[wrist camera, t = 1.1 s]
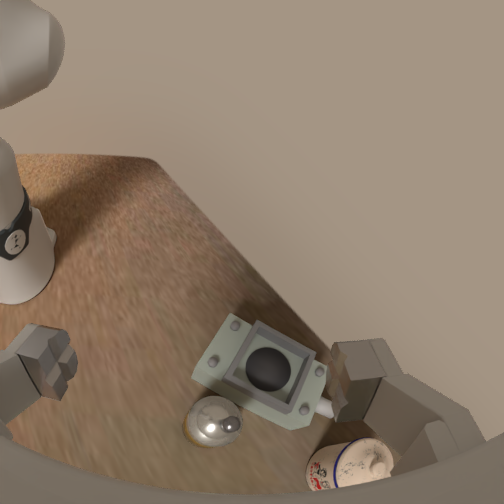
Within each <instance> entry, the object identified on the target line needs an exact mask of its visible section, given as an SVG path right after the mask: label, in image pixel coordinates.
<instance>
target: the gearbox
mask: <svg viewBox="0 0 504 504" xmlns="http://www.w3.org/2000/svg"><path fill="white" fill-rule="evenodd" d="M315 355H316V352H315V351H313V350H311V349H309V348H307V347H306V346H304V345H302V344H300V343H298V342H296V341H295V340H293V339H291V338H289V337H287V336H285V335H284V334H282V333H280V332H278V331H276V330H275V329H273V328H271V327H269V326H268V325H266V324H264V323H262V322H261V321H259V320H256V322H255V323H254V325H253V326H252V325H250V324H249V323H247V322H245V321H243V320H242V319H240V318H238V317H237V316H235V315H233V314H231V313H230V314H229V315H228V317H227V318H226V320H225V321H224V323H223V325H222V326H221V328H220V329H219V331H218V332H217V334H216V336H215V337H214V339H213V340H212V342H211V343H210V345H209V346H208V348H207V350H206V351H205V353H204V354H203V356H202V357H201V359H200V360H199V362H198V363H197V365H196V367H195V369H194V372H193V374H192V377H191V378H192V379H194V380H195V381H197V382H199V383H200V384H202V385H204V386H205V387H207V388H209V389H210V390H212V391H214V392H216V393H217V394H219V395H221V396H223V397H225V398H226V399H228V400H230V401H232V402H234V403H236V404H237V405H239V406H241V407H243V408H245V409H247V410H249V411H251V412H253V413H255V414H257V415H259V416H261V417H263V418H265V419H267V420H269V421H271V422H273V423H275V424H277V425H280V426H282V427H284V428H286V429H288V430H294V429H298V428H302V427H305V426H309V424H310V422H311V419H312V417H313V414H314V412H317V413H319V414H321V415H323V416H326V417H328V418H330V419H331V418H333V417H334V414H333V410H332V407H331V404H332V401H330V400H328V399H326V398H324V397H322V396H321V394H322V392H323V389H324V386H325V384H326V370H327V366H326V365H324V364H322V363H320V362H318V361H316V360H314V358H315Z"/></svg>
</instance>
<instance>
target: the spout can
mask: <svg viewBox="0 0 504 504" xmlns="http://www.w3.org/2000/svg"><path fill="white" fill-rule="evenodd" d="M242 425H243V421H242V415H241V413H240V411H239V409H238V408H237V406H236V405H235V404H234V403H233V402H231V401H230V400H228V399H226V398H224V397H220V396H208V397H205V398H202V399H200V400H199V401H197V402H196V403H195V404H194V405H193V407H192V408H191V409H190V410H189V412H188V413H187V415H186V417H185V419H184V421H183V425H182V430H183V434H184V436H185V438H186V439H187V440H188V441H189V442H190V443H191V444H193V445H194V446H197V447H200V448H213V447H219V446H224V445H227V444H229V443H231V442H233V441H234V440H235V439H236V438H237V437H238V436H239V434H240V432H241V429H242Z"/></svg>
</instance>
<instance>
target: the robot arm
mask: <svg viewBox="0 0 504 504" xmlns="http://www.w3.org/2000/svg"><path fill="white" fill-rule="evenodd" d="M64 47H65V40H64V34H63V30H62V27H61V25H60V23H59V22H58V20H57V19H56V18H55V17H54V16H53V15H52V14H51V13H50V12H48V11H46V10H44V9H42V8H40V7H39V6H37V5H36V4H35V3H33V2H32V1H31V0H0V109H4V108H6V107H9V106H12V105H14V104H16V103H18V102H20V101H22V100H23V99H26V98H27V97H29V96H31V95H33V94H35V93H37V92H39V91H41V90H43V89H45V88H47V87H48V85H49V84H50V83H51V82H52V80H53V79H54V77H55V75H56V74H57V72H58V70H59V67H60V65H61V62H62V59H63V55H64ZM56 238H57V236H56V233H55V231H54V230H52V229H50V228H48V227H46V225H45V223H44V220H43V218H42V215H41V212H40V211H39V209H36V208H34V207H33V206H31V203H30V199H29V196H28V194H27V192H26V190H25V188H24V187H23V186H22V184H21V180H20V176H19V172H18V168H17V163H16V159H15V154H14V151H13V149H12V148H11V146H10V145H9V144H8V143H7V142H6V141H5V140H3V139H2V138H1V137H0V303H5V304H19V303H23V302H25V301H28V300H30V299H31V298H33V297H34V296H36V295H37V294H38V293H39V292H40V291H41V290H42V289H43V288H44V287H45V286H46V284H47V283H48V281H49V279H50V277H51V275H52V272H53V269H54V262H55V258H54V245H55V242H56ZM69 343H70V338H69V335H68V333H67V331H65V330H63V329H59V328H53V327H48V326H44V325H38V324H33V323H30V324H27V325H26V326H25V327H24V328H23V330H22V331H21V332H20V333H19V334H18V335H17V337H16V338H15V339H14V340H13V341H12V342H11V344H10V345H9V346H8V347H7V348H6V350H5V351H4V350H1V351H0V504H504V433H502V434H500V435H498V436H496V437H494V438H492V439H490V440H488V441H485V439H484V437H483V435H482V433H481V431H480V430H479V428H478V426H477V424H476V422H475V421H474V419H473V417H472V415H471V414H470V412H469V410H468V409H466V408H465V407H463V406H461V405H459V404H458V403H456V402H454V401H453V400H451V399H449V398H448V397H446V396H444V395H443V394H441V393H439V392H438V391H436V390H434V389H433V388H431V387H429V386H428V385H426V384H424V383H423V382H421V381H419V380H418V379H416V378H415V377H413V376H411V375H409V374H403V372H402V370H401V368H400V366H399V364H398V363H397V361H396V359H395V357H394V355H393V354H392V352H391V350H390V348H389V346H388V345H387V343H386V341H385V340H384V339H383V338H377V339H368V340H360V341H347V342H334V344H333V345H332V348H331V356H332V361H331V362H329V363H328V365H327V370H326V387H327V391H328V394H329V395H330V396H332V397H333V401H332V404H331V407H332V410H333V414H334V418H335V422H346V421H355V420H363V419H364V420H363V421H364V422H365V423H366V424H367V425H368V426H369V427H370V428H371V429H372V430H373V431H374V432H376V433H377V434H378V435H379V436H380V437H381V438H382V439H383V440H384V441H385V442H386V443H387V444H388V445H390V446H391V447H392V448H393V449H394V450H395V451H396V452H397V453H398V454H399V455H400V456H402V457H401V459H400V460H399V461H398V462H397V464H396V465H395V466H394V467H393V468H392V470H391V471H390V474H391V477H387V478H383V479H379V480H375V481H371V482H366V483H361V484H356V485H351V486H345V487H339V488H332V489H325V490H317V491H308V492H298V493H284V494H255V495H245V494H216V493H202V492H192V491H183V490H175V489H168V488H161V487H155V486H149V485H144V484H139V483H134V482H130V481H125V480H121V479H117V478H113V477H109V476H105V475H101V474H98V473H94V472H91V471H88V470H85V469H81V468H78V467H75V466H72V465H69V464H67V463H64V462H61V461H58V460H56V459H53V458H50V457H48V456H45V455H43V454H41V453H38V452H36V451H34V450H31V449H29V448H27V447H25V446H22V445H20V444H18V443H16V442H14V441H12V438H13V435H12V433H11V431H10V430H9V429H8V428H7V427H6V424H8V423H9V422H10V421H11V420H13V419H14V418H15V417H16V416H18V415H19V414H20V413H22V412H23V411H24V410H25V409H27V408H28V407H29V406H31V405H32V404H33V403H34V402H36V401H37V400H38V399H40V398H41V396H43V397H46V398H50V399H54V400H57V401H61V399H62V397H63V395H64V394H65V392H66V390H67V388H68V384H67V381H69V380H70V379H72V378H73V377H74V375H75V373H76V371H77V365H78V361H77V356H76V353H75V351H74V349H73V348H72V347H71V346H70V345H69Z"/></svg>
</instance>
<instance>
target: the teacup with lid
mask: <svg viewBox="0 0 504 504" xmlns="http://www.w3.org/2000/svg"><path fill="white" fill-rule="evenodd" d="M392 468H393V458H392V455H391V452H390V450H389V449H388V447H387V446H386V445H385V444H384V443H382V442H381V441H379V440H377V439H374V438H369V437H365V438H359V439H356V440H354V441H352V442H347V443H342V444H336V445H330V446H326V447H324V448H322V449H320V450H319V451H317V452H316V453H315V454H314V455H313V456H312V458H311V459H310V461H309V463H308V465H307V469H306V479H307V483H308V485H309V487H310V488H311V489H312V490H313V491H317V490H325V489H332V488H339V487H345V486H351V485H356V484H361V483H366V482H371V481H375V480H379V479H383V478H387V477H391V474H390V471H391V470H392Z"/></svg>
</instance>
